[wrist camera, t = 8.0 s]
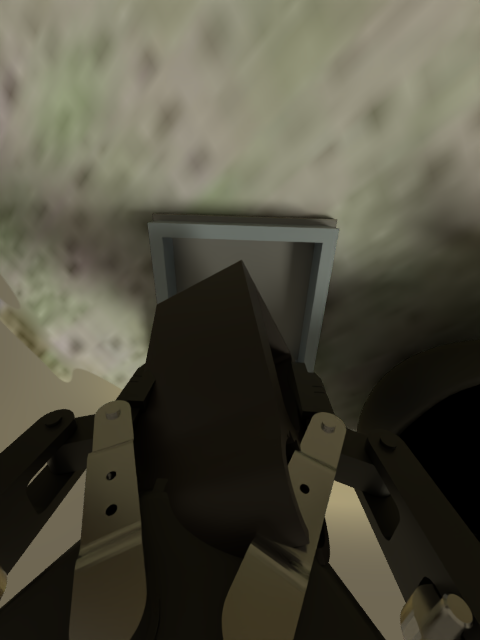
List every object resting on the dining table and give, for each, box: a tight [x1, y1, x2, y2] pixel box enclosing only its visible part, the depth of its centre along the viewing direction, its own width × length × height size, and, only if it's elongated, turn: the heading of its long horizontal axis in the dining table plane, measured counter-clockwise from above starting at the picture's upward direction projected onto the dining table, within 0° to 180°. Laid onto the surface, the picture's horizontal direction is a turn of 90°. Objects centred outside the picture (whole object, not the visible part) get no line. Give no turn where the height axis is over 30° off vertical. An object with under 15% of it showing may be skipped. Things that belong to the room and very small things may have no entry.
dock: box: [148, 213, 339, 373], centre depth 23 cm, size 15×15×3 cm
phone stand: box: [134, 260, 330, 565], centre depth 12 cm, size 9×6×12 cm, turn 28°
